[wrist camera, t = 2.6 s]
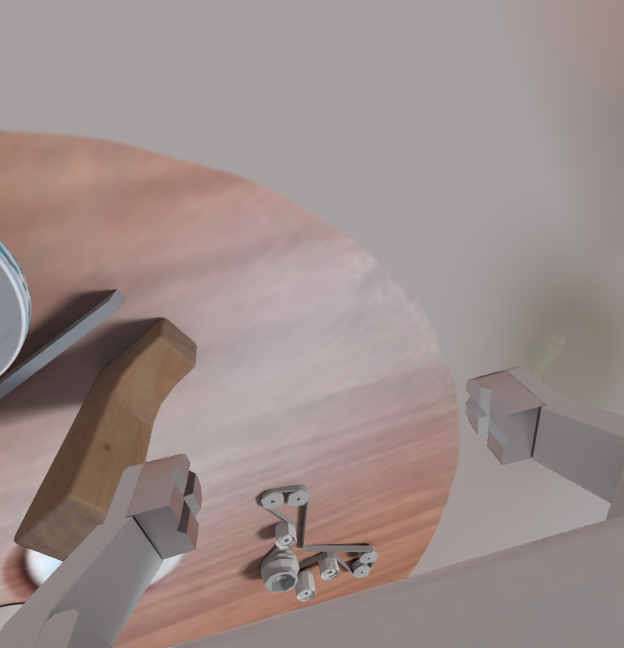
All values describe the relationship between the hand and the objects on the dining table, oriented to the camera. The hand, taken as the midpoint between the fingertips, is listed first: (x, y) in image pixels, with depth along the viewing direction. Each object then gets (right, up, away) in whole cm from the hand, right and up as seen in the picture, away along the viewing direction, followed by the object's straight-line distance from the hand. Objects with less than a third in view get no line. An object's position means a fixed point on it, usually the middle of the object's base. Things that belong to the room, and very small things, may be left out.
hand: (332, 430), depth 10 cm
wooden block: (-17, 0, +26) cm, 31 cm away
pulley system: (-2, -31, +45) cm, 55 cm away
